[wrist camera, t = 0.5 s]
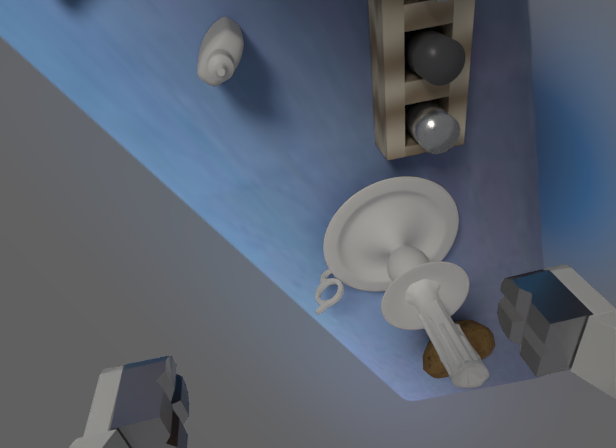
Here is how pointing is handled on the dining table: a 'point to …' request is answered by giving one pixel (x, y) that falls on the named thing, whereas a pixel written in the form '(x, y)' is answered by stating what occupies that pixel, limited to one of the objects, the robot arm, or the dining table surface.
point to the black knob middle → (435, 57)
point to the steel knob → (432, 127)
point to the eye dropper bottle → (220, 52)
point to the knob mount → (406, 83)
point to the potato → (477, 338)
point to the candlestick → (405, 264)
